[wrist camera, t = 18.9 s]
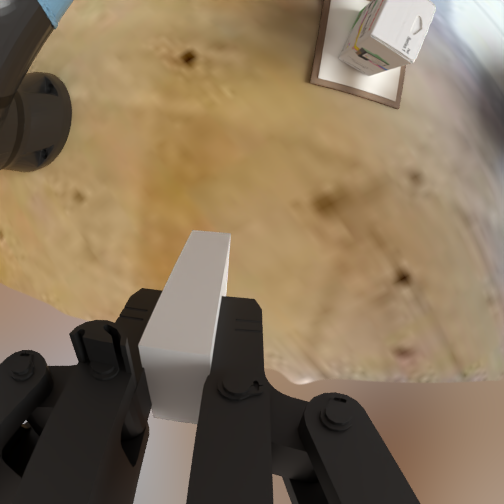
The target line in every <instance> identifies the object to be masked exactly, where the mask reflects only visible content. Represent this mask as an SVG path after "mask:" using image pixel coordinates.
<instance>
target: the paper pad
mask: <svg viewBox="0 0 504 504" xmlns="http://www.w3.org/2000/svg"><path fill="white" fill-rule="evenodd" d="M371 1H372V0H324V1H323V8H322V14H321V20H320V26H319V32H318V38H317V44H316V50H315V56H314V62H313V67H312V73H311V79H310V83H311V84H315V85H319V86H323V87H327V88H331V89H335V90H339V91H342V92H346V93H349V94H353V95H356V96H360V97H363V98H366V99H369V100H372V101H375V102H378V103H381V104H384V105H387V106H390V107H393V108H396V109H399V106H400V101H401V95H402V88H403V82H404V75H405V68H406V65H404V66H400V67H397V68H394V69H390V70H387V71H384V72H381V73H378V74H375V75H372V76H368V75H366V74H364V73H362V72H361V71H359V70H357V69H355V68H353V67H352V66H350V65H348V64H346V63H345V62H343V61H341V60H340V59H338V56H339V54H340V52H341V50H342V48H343V45H344V43H345V41H346V39H347V37H348V35H349V33H350V31H351V29H352V27H353V25H354V23H355V21H356V19H357V16H358V14H359V12H360V11H361V10H362V9H363V8H364V7H365V6H366V5H368V4H369V3H370V2H371Z"/></svg>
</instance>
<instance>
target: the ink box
mask: <svg viewBox="0 0 504 504" xmlns="http://www.w3.org/2000/svg"><path fill="white" fill-rule="evenodd" d="M435 7H436V6H435V5H434V4H433V3H432V2H431V1H429V0H372V1H371V2H370V3H369V4H368V5H366V6H365V7H364V8H363V9H362V10H361V11H360V12H359V14H358V16H357V19H356V21H355V23H354V25H353V27H352V29H351V31H350V33H349V35H348V37H347V39H346V41H345V43H344V45H343V48H342V50H341V52H340V54H339V56H338V59H340V60H341V61H343V62H345V63H346V64H348V65H350V66H352V67H353V68H355V69H357V70H359V71H361V72H362V73H364V74H366V75H368V76H372V75H375V74H378V73H381V72H384V71H387V70H390V69H394V68H397V67H400V66H404V65H408V64H411V63H414V61H415V59H416V58H417V55H418V53H419V50H420V49H421V46H422V44H423V40H424V38H425V36H426V34H427V32H428V29H429V25H430V23H431V22H432V19H433V16H434V13H435V11H436V9H435Z"/></svg>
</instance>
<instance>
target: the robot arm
mask: <svg viewBox="0 0 504 504" xmlns="http://www.w3.org/2000/svg"><path fill="white" fill-rule="evenodd" d="M72 2H73V0H0V170H1V169H6V170H12V171H19V172H31V171H35V170H37V169H40V168H43V167H45V166H47V165H49V164H50V163H51V162H52V161H53V160H54V159H55V158H56V157H57V156H58V155H59V153H60V152H61V150H62V149H63V147H64V145H65V143H66V140H67V137H68V134H69V131H70V126H71V117H72V109H71V101H70V96H69V93H68V91H67V89H66V87H65V85H64V84H63V82H62V81H61V80H60V79H59V78H58V77H56V76H55V75H53V74H50V73H42V72H33V73H28V74H26V73H27V71H28V69H29V68H30V66H31V64H32V62H33V61H34V59H35V57H36V56H37V54H38V52H39V51H40V49H41V48H42V46H43V45H44V43H45V42H46V40H47V39H48V37H49V36H50V34H51V33H52V31H53V30H54V29H56V28H57V26H58V22H59V21H60V19H61V18H62V16H63V15H64V13H65V12H66V10H67V9H68V8H69V6H70V5H71V3H72ZM230 238H231V234H230V233H220V232H209V231H197V230H192V232H191V234H190V236H189V238H188V240H187V242H186V244H185V246H184V248H183V250H182V252H181V254H180V256H179V258H178V260H177V262H176V264H175V266H174V268H173V270H172V272H171V274H170V277H169V279H168V281H167V283H166V285H165V287H164V289H163V291H161V290H153V289H145V288H142V289H140V290H139V291H137V292H136V293H135V294H133V295H132V296H131V297H130V298H129V300H128V302H127V303H126V305H125V308H124V309H123V310H122V312H121V314H120V317H118V319H117V320H116V322H115V323H114V322H111V321H108V320H94V321H89V322H85V323H83V324H81V325H79V326H77V327H76V328H75V329H74V330H73V331H72V332H71V333H70V334H69V335H70V338H71V341H72V344H73V347H74V350H75V352H76V356H77V358H78V361H79V362H78V364H77V365H72V366H47V363H46V361H45V359H44V358H43V357H42V356H41V355H40V354H39V353H38V352H35V351H32V350H22V351H19V352H15V353H14V354H12V355H10V356H9V357H8V358H6V359H5V360H4V361H3V362H2V363H1V364H0V504H133V501H134V497H135V492H136V487H137V482H138V479H139V474H140V470H141V466H142V462H143V457H144V453H145V449H146V445H147V441H148V437H149V426H148V422H147V420H148V417H149V413H150V409H152V413H153V416H154V417H155V418H160V419H166V420H172V421H178V422H185V423H192V424H197V432H196V437H195V444H194V451H193V458H192V465H191V472H190V479H189V487H188V495H187V503H186V504H273V485H272V484H273V482H272V474H275V475H279V476H282V478H283V480H284V483H285V486H286V489H287V492H288V494H289V497H290V500H291V502H292V504H420V502H419V501H418V499H417V497H416V495H415V494H414V492H413V490H412V489H411V487H410V485H409V484H408V482H407V480H406V478H405V477H404V475H403V473H402V472H401V470H400V468H399V467H398V465H397V463H396V462H395V460H394V458H393V456H392V455H391V453H390V451H389V450H388V448H387V446H386V445H385V443H384V441H383V440H382V438H381V436H380V435H379V433H378V431H377V430H376V428H375V426H374V425H373V423H372V421H371V420H370V418H369V416H368V415H367V413H366V411H365V410H364V408H363V407H362V406H361V405H360V404H359V403H358V402H357V401H356V400H354V399H352V398H350V397H349V396H347V395H344V394H340V393H323V394H321V395H318V396H316V397H314V398H313V399H312V400H311V401H310V402H307V401H303V400H300V399H296V398H292V397H290V396H287V395H284V394H282V393H280V392H279V391H277V390H276V389H274V387H273V386H272V385H271V384H270V383H269V382H268V380H267V378H266V377H265V372H264V353H263V333H262V332H263V327H262V309H261V308H260V306H259V305H258V303H257V302H256V300H255V299H248V298H237V297H227V296H226V292H227V278H228V264H229V251H230ZM25 420H27V421H28V422H27V423H25V424H23V423H24V421H25Z"/></svg>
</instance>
